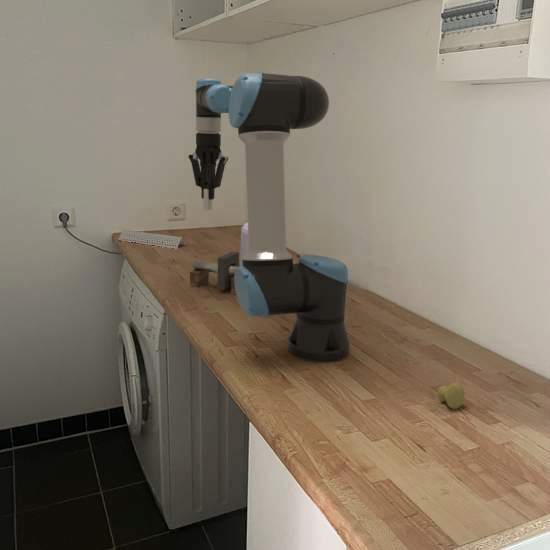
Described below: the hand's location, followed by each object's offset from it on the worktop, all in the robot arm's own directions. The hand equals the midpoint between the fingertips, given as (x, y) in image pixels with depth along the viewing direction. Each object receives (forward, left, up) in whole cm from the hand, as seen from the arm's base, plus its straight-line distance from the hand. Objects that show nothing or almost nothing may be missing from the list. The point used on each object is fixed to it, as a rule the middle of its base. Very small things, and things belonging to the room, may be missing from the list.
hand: (207, 209), depth 181 cm
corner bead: (+43, +51, -26) cm, 72 cm away
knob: (-46, -82, -26) cm, 97 cm away
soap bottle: (+28, -4, -26) cm, 38 cm away
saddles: (+1, -4, -26) cm, 26 cm away
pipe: (+1, -4, -21) cm, 21 cm away
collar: (+1, -7, -24) cm, 25 cm away
